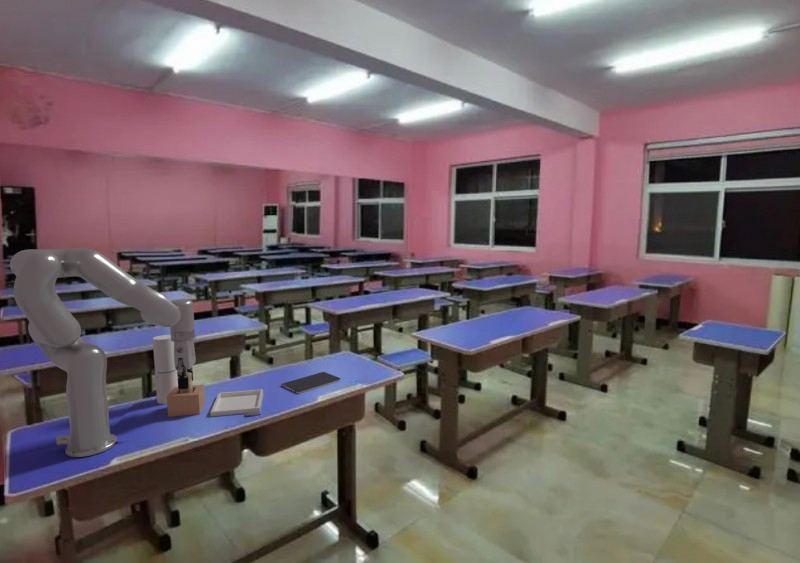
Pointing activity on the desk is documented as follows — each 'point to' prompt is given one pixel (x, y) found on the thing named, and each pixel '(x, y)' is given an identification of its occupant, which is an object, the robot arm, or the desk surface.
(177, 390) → the deep holder
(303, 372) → the desk surface
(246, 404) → the tray
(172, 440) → the desk surface
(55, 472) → the desk surface
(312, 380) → the notebook
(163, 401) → the cylindrical container
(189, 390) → the dowel pin
